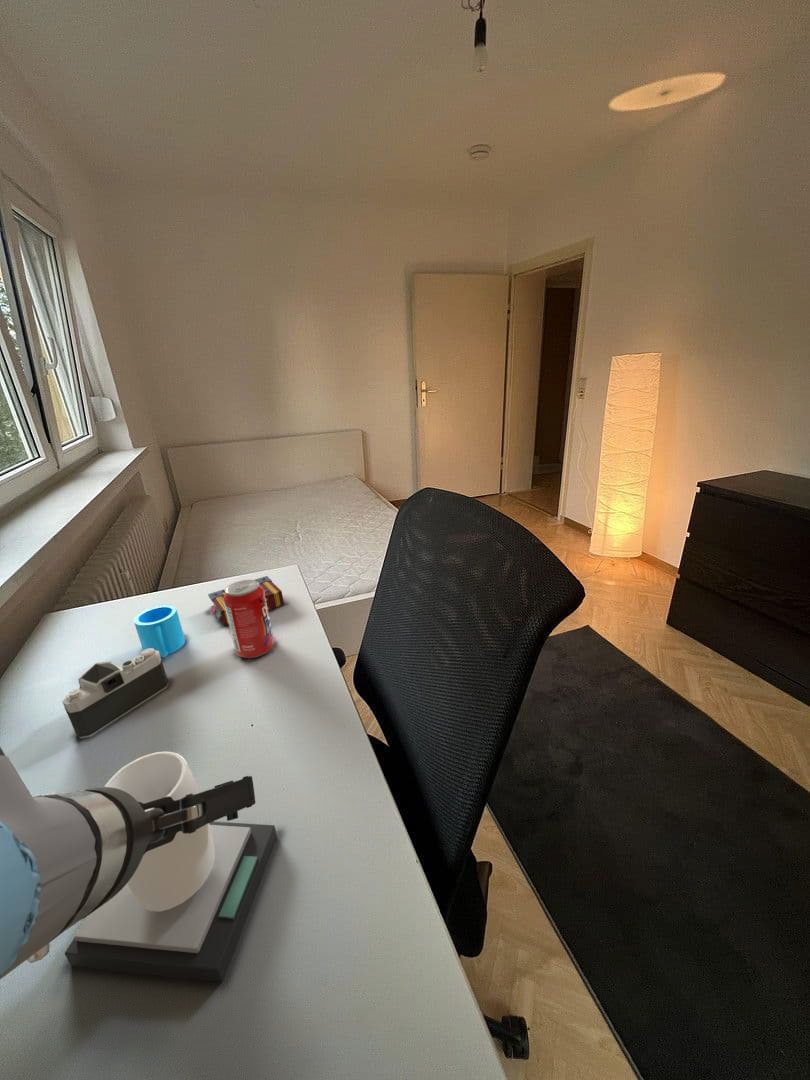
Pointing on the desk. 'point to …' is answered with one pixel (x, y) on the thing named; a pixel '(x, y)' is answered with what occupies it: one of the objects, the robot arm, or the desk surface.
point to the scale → (182, 916)
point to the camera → (114, 691)
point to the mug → (160, 629)
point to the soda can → (248, 618)
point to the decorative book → (271, 595)
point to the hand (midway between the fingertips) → (163, 816)
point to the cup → (186, 858)
